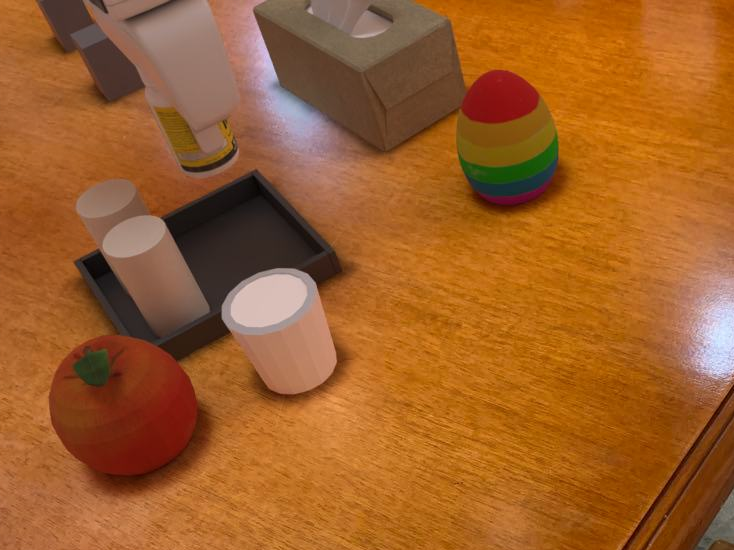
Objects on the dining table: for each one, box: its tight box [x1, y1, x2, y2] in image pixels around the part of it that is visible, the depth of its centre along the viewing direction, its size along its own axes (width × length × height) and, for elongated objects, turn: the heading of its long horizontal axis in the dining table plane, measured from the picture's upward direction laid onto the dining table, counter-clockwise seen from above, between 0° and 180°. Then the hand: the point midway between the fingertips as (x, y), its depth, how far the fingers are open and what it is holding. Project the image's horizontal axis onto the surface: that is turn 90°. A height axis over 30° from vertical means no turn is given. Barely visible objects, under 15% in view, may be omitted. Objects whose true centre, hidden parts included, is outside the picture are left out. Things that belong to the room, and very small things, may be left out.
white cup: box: [222, 268, 338, 395], centre depth 74 cm, size 7×7×7 cm
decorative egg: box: [455, 69, 560, 206], centre depth 82 cm, size 8×8×10 cm
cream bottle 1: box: [75, 178, 152, 297], centre depth 82 cm, size 5×5×8 cm
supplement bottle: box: [135, 64, 240, 179], centre depth 75 cm, size 5×5×8 cm
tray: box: [72, 168, 343, 362], centre depth 84 cm, size 17×15×3 cm
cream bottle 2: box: [102, 214, 210, 338], centre depth 78 cm, size 5×5×8 cm
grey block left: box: [35, 0, 95, 53], centre depth 111 cm, size 4×4×6 cm
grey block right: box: [70, 22, 146, 103], centre depth 103 cm, size 4×4×6 cm
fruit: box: [48, 334, 198, 477], centre depth 70 cm, size 10×10×10 cm
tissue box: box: [252, 0, 468, 153], centre depth 91 cm, size 19×10×16 cm, turn 41°
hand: (196, 129), depth 76 cm, fingers closed on supplement bottle, 5 cm apart
